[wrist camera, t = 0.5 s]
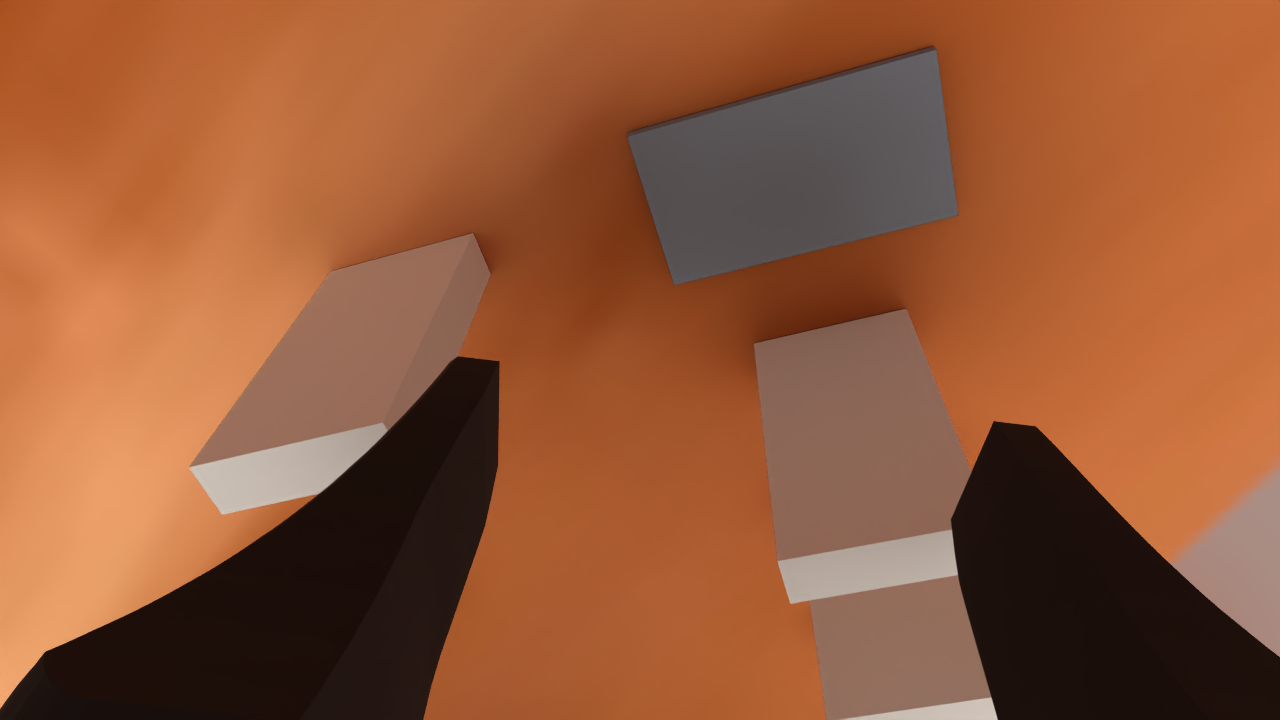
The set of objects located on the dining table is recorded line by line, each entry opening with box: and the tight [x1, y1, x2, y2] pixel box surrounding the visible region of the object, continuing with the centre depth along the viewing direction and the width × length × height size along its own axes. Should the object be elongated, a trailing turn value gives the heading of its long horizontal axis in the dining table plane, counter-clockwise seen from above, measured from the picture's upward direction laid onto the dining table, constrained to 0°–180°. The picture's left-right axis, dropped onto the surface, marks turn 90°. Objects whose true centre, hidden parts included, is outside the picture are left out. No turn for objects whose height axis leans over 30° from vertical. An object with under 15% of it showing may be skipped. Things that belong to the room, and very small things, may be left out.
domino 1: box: [189, 233, 491, 515], centre depth 20 cm, size 4×1×8 cm, turn 107°
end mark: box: [627, 46, 958, 285], centre depth 22 cm, size 7×4×1 cm, turn 107°
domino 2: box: [754, 309, 972, 604], centre depth 21 cm, size 4×1×8 cm, turn 107°
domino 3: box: [810, 575, 998, 720], centre depth 24 cm, size 4×1×8 cm, turn 107°
